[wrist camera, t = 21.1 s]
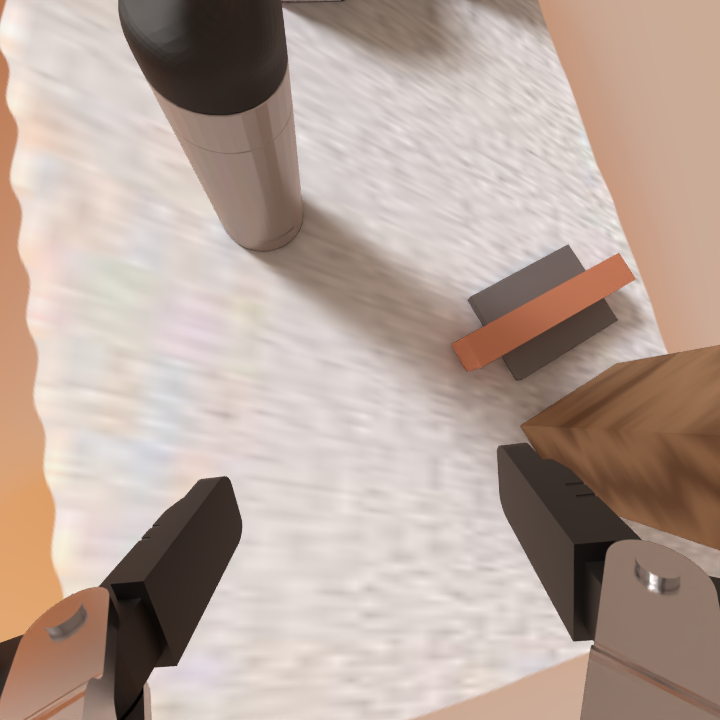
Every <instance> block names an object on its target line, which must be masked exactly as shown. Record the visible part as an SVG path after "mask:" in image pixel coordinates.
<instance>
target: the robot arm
mask: <svg viewBox="0 0 720 720" xmlns="http://www.w3.org/2000/svg"><path fill="white" fill-rule="evenodd" d="M118 10H119V18H120V22H121V26H122V29H123V33H124V35H125V38H126V40H127V42H128V44H129V47H130V49H131V51H132V53H133V55H134V57H135V59H136V60H137V62H138V64H139V66H140V68H141V70H142V72H143V74H144V76H145V77H146V80H147V81H148V83H149V85H150V87H151V89H152V91H153V93H154V95H155V97H156V99H157V101H158V102H159V104H160V106H161V108H162V110H163V112H164V114H165V116H166V118H167V119H168V121H169V123H170V125H171V127H172V129H173V131H174V133H175V135H176V136H177V138H178V140H179V142H180V144H181V146H182V148H183V150H184V152H185V154H186V156H187V158H188V159H189V161H190V163H191V165H192V167H193V169H194V171H195V173H196V175H197V177H198V179H199V181H200V182H201V184H202V186H203V188H204V190H205V192H206V194H207V196H208V198H209V200H210V202H211V204H212V205H213V208H214V210H215V211H216V213H217V215H218V217H219V219H220V221H221V223H222V225H223V226H224V228H225V230H226V232H227V233H228V235H229V236H230V237H231V238H232V239H233V240H234V241H235V242H237V243H238V244H239V245H242V246H244V247H246V248H248V249H252V250H257V251H268V250H274V249H277V248H280V247H282V246H284V245H286V244H287V243H289V242H290V241H291V240H292V239H293V238H294V237H295V236H296V234H297V233H298V232H299V230H300V227H301V225H302V219H303V212H302V200H301V187H300V177H299V166H298V156H297V145H296V135H295V125H294V114H293V104H292V95H291V85H290V75H289V64H288V55H287V46H286V37H285V28H284V20H283V12H282V3H281V0H118ZM497 460H498V477H499V493H500V500H501V504H502V508H503V511H504V513H505V516H506V518H507V520H508V522H509V523H510V525H511V527H512V529H513V531H514V533H515V535H516V536H517V538H518V540H519V542H520V544H521V546H522V547H523V549H524V551H525V553H526V555H527V557H528V559H529V560H530V562H531V564H532V566H533V568H534V570H535V572H536V573H537V575H538V577H539V579H540V581H541V583H542V584H543V586H544V588H545V590H546V592H547V594H548V596H549V597H550V599H551V601H552V603H553V605H554V607H555V609H556V610H557V612H558V614H559V616H560V618H561V620H562V621H563V623H564V625H565V627H566V629H567V631H568V633H569V634H570V636H571V638H572V640H573V641H587V640H593V641H594V646H593V645H592V646H591V649H590V654H589V661H588V668H587V675H586V682H585V689H584V697H583V703H582V710H581V718H580V720H720V578H716V577H711V576H708V575H707V574H706V573H705V572H704V571H703V570H702V569H701V568H700V567H699V566H698V565H696V564H695V563H694V562H693V561H691V560H690V559H688V558H687V557H685V556H683V555H682V554H680V553H678V552H676V551H674V550H672V549H670V548H667V547H665V546H662V545H659V544H656V543H652V542H648V541H643V540H642V539H641V538H640V537H639V536H638V535H637V534H636V533H635V532H634V531H633V530H632V529H631V528H630V527H629V526H628V525H626V524H625V523H624V522H623V521H622V520H621V519H620V518H619V517H618V516H617V515H616V514H615V513H614V512H613V511H612V510H611V509H610V508H609V507H608V506H607V505H606V504H605V503H604V502H603V501H602V500H601V499H600V498H599V497H598V496H596V495H595V493H594V492H593V491H592V490H591V489H590V488H589V487H588V486H587V485H584V482H583V481H582V480H581V479H580V478H579V477H578V476H577V475H576V474H575V473H574V472H573V471H572V470H571V469H570V468H568V467H566V466H564V465H563V464H561V463H559V462H557V461H555V460H553V459H542V458H541V457H540V456H539V455H538V454H537V453H536V452H535V451H534V450H533V448H532V447H531V446H530V445H529V444H528V443H519V444H510V445H501V446H498V449H497ZM241 534H242V519H241V515H240V512H239V508H238V505H237V501H236V498H235V494H234V491H233V487H232V484H231V481H230V479H229V478H228V477H226V476H223V477H215V478H206V479H200V480H199V481H198V482H197V483H196V484H195V485H194V486H193V488H192V489H191V490H190V491H189V492H188V493H187V495H186V496H185V497H184V498H182V499H181V500H180V501H178V502H177V503H175V504H174V505H173V506H171V507H170V508H169V509H167V510H166V511H165V512H164V513H163V514H162V515H161V516H160V518H159V519H158V520H157V521H156V522H155V523H154V524H153V527H152V528H150V529H149V530H148V531H147V532H146V533H145V535H144V536H143V537H142V540H141V541H138V543H137V544H136V545H135V546H134V547H133V548H132V549H131V551H130V552H129V553H128V554H127V555H126V556H125V557H124V558H123V560H122V561H121V562H120V563H119V564H118V565H117V566H116V568H115V569H114V570H113V571H112V572H111V573H110V574H109V575H108V577H107V578H106V579H105V580H104V581H103V582H102V583H101V585H100V586H99V587H93V588H88V589H85V590H82V591H79V592H77V593H75V594H72V595H71V596H69V597H67V598H65V599H63V600H62V601H60V602H59V603H57V604H56V605H54V606H53V607H51V608H50V609H49V610H47V611H46V612H45V613H44V614H43V615H42V616H40V617H39V618H38V619H37V620H36V621H35V622H34V623H33V624H32V625H31V627H30V628H29V629H28V630H27V631H26V633H25V634H24V635H21V636H18V637H15V638H12V639H10V640H7V641H4V642H1V643H0V720H152V715H151V694H150V688H149V685H148V683H147V679H148V678H149V676H150V674H151V672H152V670H153V669H154V667H168V666H177V664H178V662H179V661H180V659H181V657H182V655H183V653H184V651H185V649H186V647H187V645H188V643H189V641H190V639H191V637H192V635H193V633H194V631H195V629H196V627H197V625H198V623H199V621H200V619H201V617H202V615H203V613H204V611H205V609H206V607H207V605H208V603H209V601H210V599H211V597H212V595H213V593H214V591H215V589H216V587H217V585H218V583H219V581H220V579H221V577H222V575H223V573H224V571H225V569H226V567H227V565H228V563H229V561H230V559H231V557H232V555H233V553H234V551H235V550H236V548H237V546H238V544H239V541H240V538H241Z"/></svg>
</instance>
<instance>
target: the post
mask: <svg viewBox="0 0 720 720" xmlns="http://www.w3.org/2000/svg"><path fill="white" fill-rule="evenodd" d="M521 427H522V429H523V431H524V432H525V434H526V436H527V437H528V439H529V441H530V442H531V444H532V446H533V447H534V449H535V451H536V452H537V454H538V455H539V456H540V457H541V458H542V459H553V460H555V461H557V462H559V463H561V464H563V465H564V466H566V467H568V468H570V469H571V470H572V471H573V472H574V473H575V474H576V475H577V476H578V477H579V478H580V479H581V480H582V481H583V482H584V485H587V486H588V487H589V488H590V489H591V490H592V491H593V492H594V493H595V495H596V496H598V497H599V498H600V499H601V500H602V501H603V502H604V503H605V504H606V505H607V506H608V507H609V508H610V509H611V510H612V511H613V512H614V513H615V514H616V515H617V516H620V517H623V518H626V519H629V520H632V521H635V522H638V523H641V524H644V525H646V526H649V527H652V528H655V529H658V530H661V531H664V532H667V533H670V534H673V535H676V536H679V537H682V538H685V539H688V540H691V541H694V542H697V543H700V544H703V545H706V546H709V547H712V548H715V549H718V550H720V345H717V346H712V347H706V348H700V349H695V350H690V351H684V352H678V353H673V354H667V355H661V356H656V357H650V358H644V359H639V360H633V361H628V362H622V363H617V364H615V365H613V366H612V367H610V368H609V369H607V370H606V371H604V372H603V373H601V374H599V375H598V376H596V377H595V378H593V379H592V380H590V381H589V382H587V383H586V384H584V385H582V386H581V387H579V388H578V389H576V390H575V391H573V392H572V393H570V394H569V395H567V396H565V397H564V398H562V399H561V400H559V401H558V402H556V403H555V404H553V405H552V406H550V407H548V408H547V409H545V410H544V411H542V412H541V413H539V414H538V415H536V416H534V417H533V418H531V419H530V420H528V421H527V422H525V423H524V424H522V425H521Z"/></svg>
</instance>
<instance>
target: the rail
mask: <svg viewBox="0 0 720 720" xmlns="http://www.w3.org/2000/svg"><path fill="white" fill-rule="evenodd" d="M635 279H636V278H635V277H634V275H633V274H632V272H631V271H630V269H629V268H628V266H627V264H626V263H625V261H624V260H623V258H622V257H621V255H620V254H619V253H618V254H616V255H614V256H612V257H610V258H609V259H607V260H605V261H603V262H601V263H599V264H598V265H596V266H594V267H592V268H590V269H588V270H587V271H585V272H583V273H581V274H579V275H577V276H575V277H574V278H572V279H570V280H568V281H566V282H564V283H563V284H561V285H559V286H557V287H555V288H553V289H552V290H550V291H548V292H546V293H544V294H542V295H541V296H539V297H537V298H535V299H533V300H531V301H530V302H528V303H526V304H524V305H522V306H520V307H519V308H517V309H515V310H513V311H511V312H509V313H508V314H506V315H504V316H502V317H500V318H498V319H497V320H495V321H493V322H491V323H489V324H487V325H486V326H484V327H482V328H480V329H478V330H476V331H475V332H473V333H471V334H469V335H467V336H465V337H464V338H462V339H460V340H458V341H456V342H455V343H453V344H451V345H452V347H453V348H454V350H455V352H456V354H457V355H458V357H459V359H460V361H461V362H462V364H463V366H464V367H465V369H466V371H467V372H468V371H471V370H474V369H478V368H481V367H483V366H485V365H487V364H488V363H490V362H492V361H494V360H495V359H497V358H499V357H501V356H502V355H504V354H506V353H508V352H509V351H511V350H513V349H515V348H516V347H518V346H520V345H522V344H523V343H525V342H527V341H529V340H530V339H532V338H534V337H536V336H537V335H539V334H541V333H543V332H544V331H546V330H548V329H550V328H551V327H553V326H555V325H557V324H558V323H560V322H562V321H564V320H565V319H567V318H569V317H571V316H572V315H574V314H576V313H578V312H579V311H581V310H583V309H585V308H586V307H588V306H590V305H592V304H593V303H595V302H597V301H599V300H600V299H602V298H604V297H606V296H607V295H609V294H611V293H613V292H614V291H616V290H618V289H620V288H621V287H623V286H625V285H627V284H628V283H630V282H632V281H634V280H635Z"/></svg>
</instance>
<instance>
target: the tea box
mask: <svg viewBox="0 0 720 720" xmlns="http://www.w3.org/2000/svg"><path fill="white" fill-rule="evenodd" d="M281 1H339V0H281Z"/></svg>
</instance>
